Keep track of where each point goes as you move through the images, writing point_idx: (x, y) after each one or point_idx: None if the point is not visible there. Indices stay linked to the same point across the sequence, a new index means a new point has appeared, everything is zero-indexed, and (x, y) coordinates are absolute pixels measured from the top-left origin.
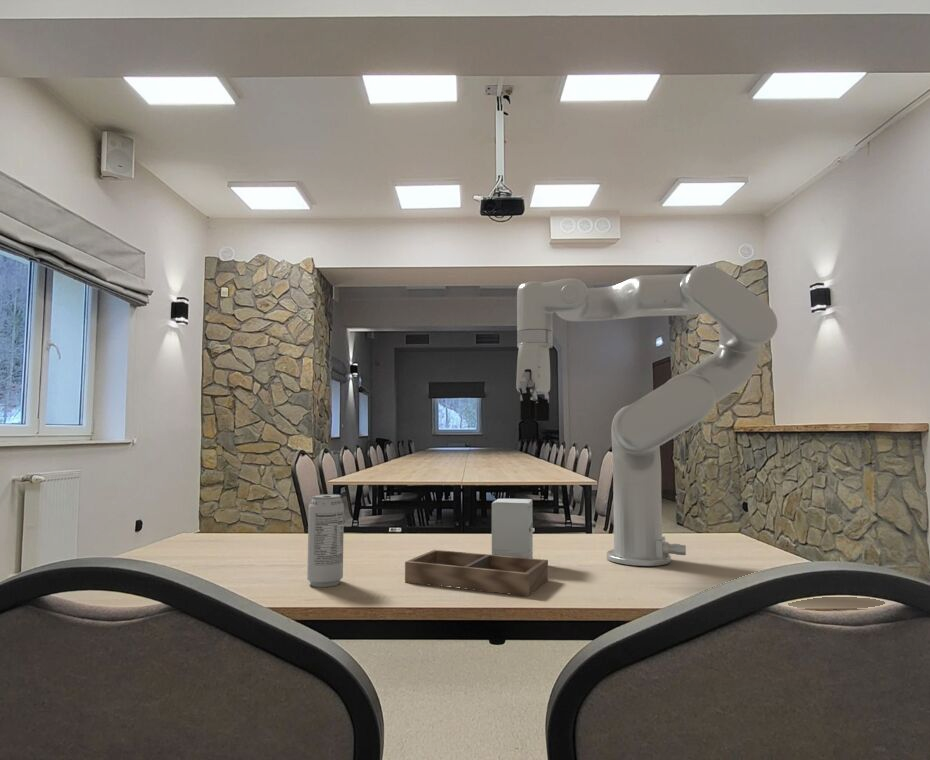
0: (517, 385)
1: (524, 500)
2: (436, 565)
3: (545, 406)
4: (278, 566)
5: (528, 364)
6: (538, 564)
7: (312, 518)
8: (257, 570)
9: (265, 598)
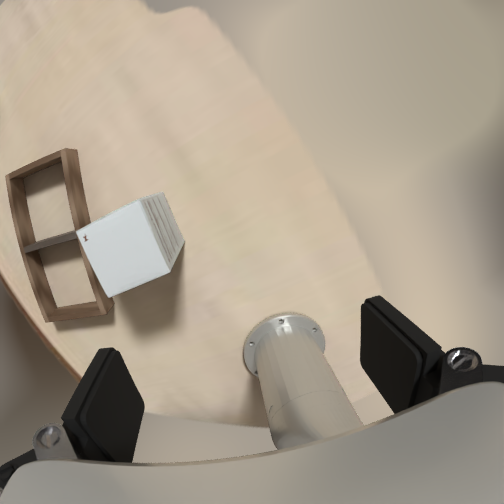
0: (5, 491)
1: (132, 274)
2: (12, 216)
3: (393, 402)
4: (24, 24)
5: None
6: (80, 314)
7: None
8: (8, 30)
9: None
